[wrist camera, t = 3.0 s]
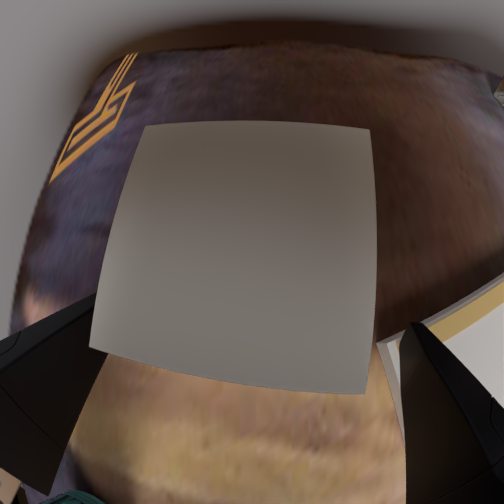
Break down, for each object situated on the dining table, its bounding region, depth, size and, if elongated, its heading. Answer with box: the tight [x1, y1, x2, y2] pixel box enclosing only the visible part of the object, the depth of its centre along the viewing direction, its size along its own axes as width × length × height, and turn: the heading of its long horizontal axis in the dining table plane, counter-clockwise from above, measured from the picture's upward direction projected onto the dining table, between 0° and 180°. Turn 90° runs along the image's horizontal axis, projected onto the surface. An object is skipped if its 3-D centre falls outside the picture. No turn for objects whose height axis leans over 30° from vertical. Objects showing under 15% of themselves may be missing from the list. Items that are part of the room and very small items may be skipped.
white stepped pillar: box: [89, 121, 377, 394], centre depth 11 cm, size 6×6×13 cm
